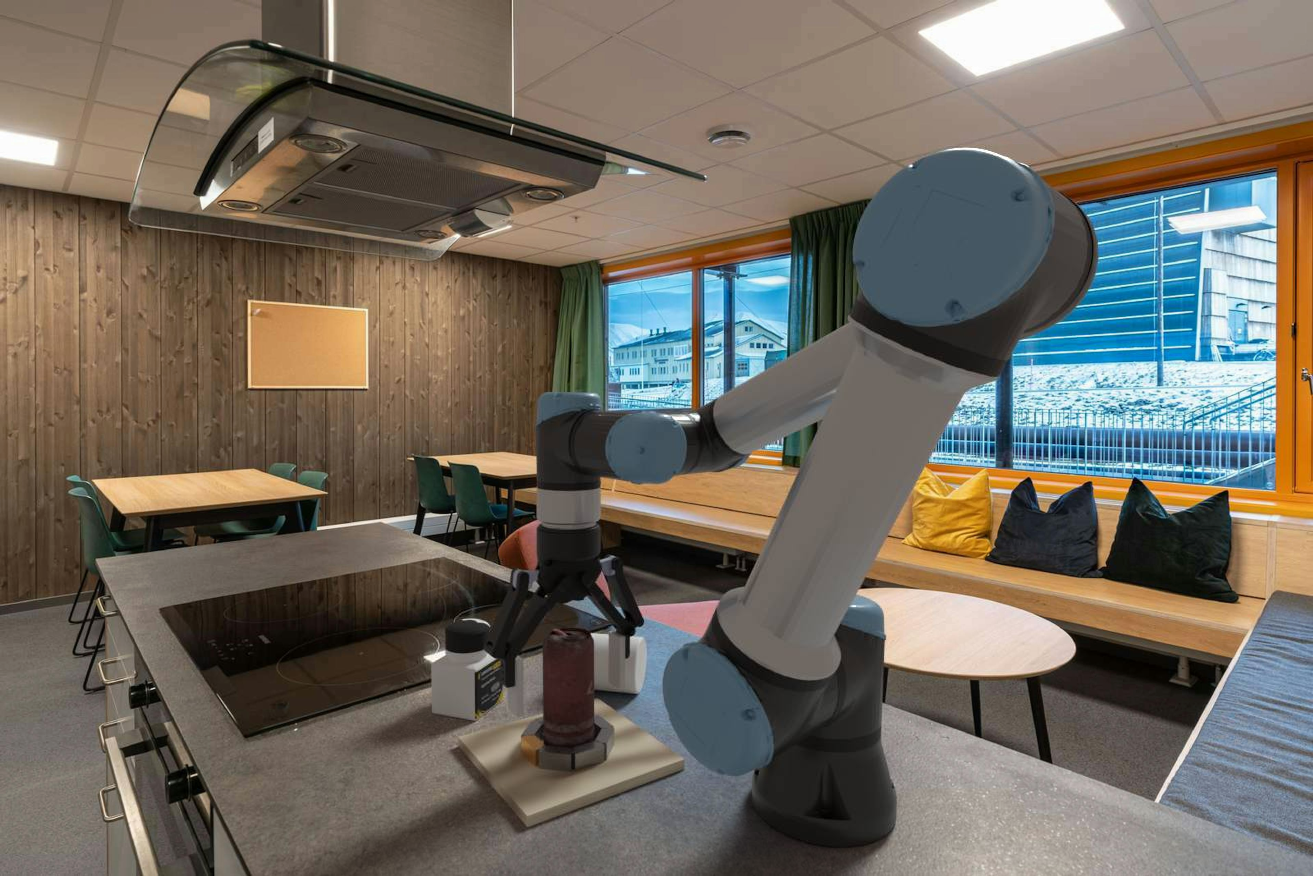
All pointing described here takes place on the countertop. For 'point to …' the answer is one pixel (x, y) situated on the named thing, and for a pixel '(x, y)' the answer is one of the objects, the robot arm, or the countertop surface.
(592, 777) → the hub board
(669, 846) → the countertop surface
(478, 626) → the medicine bottle
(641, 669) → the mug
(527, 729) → the socket
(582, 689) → the can
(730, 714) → the robot arm
